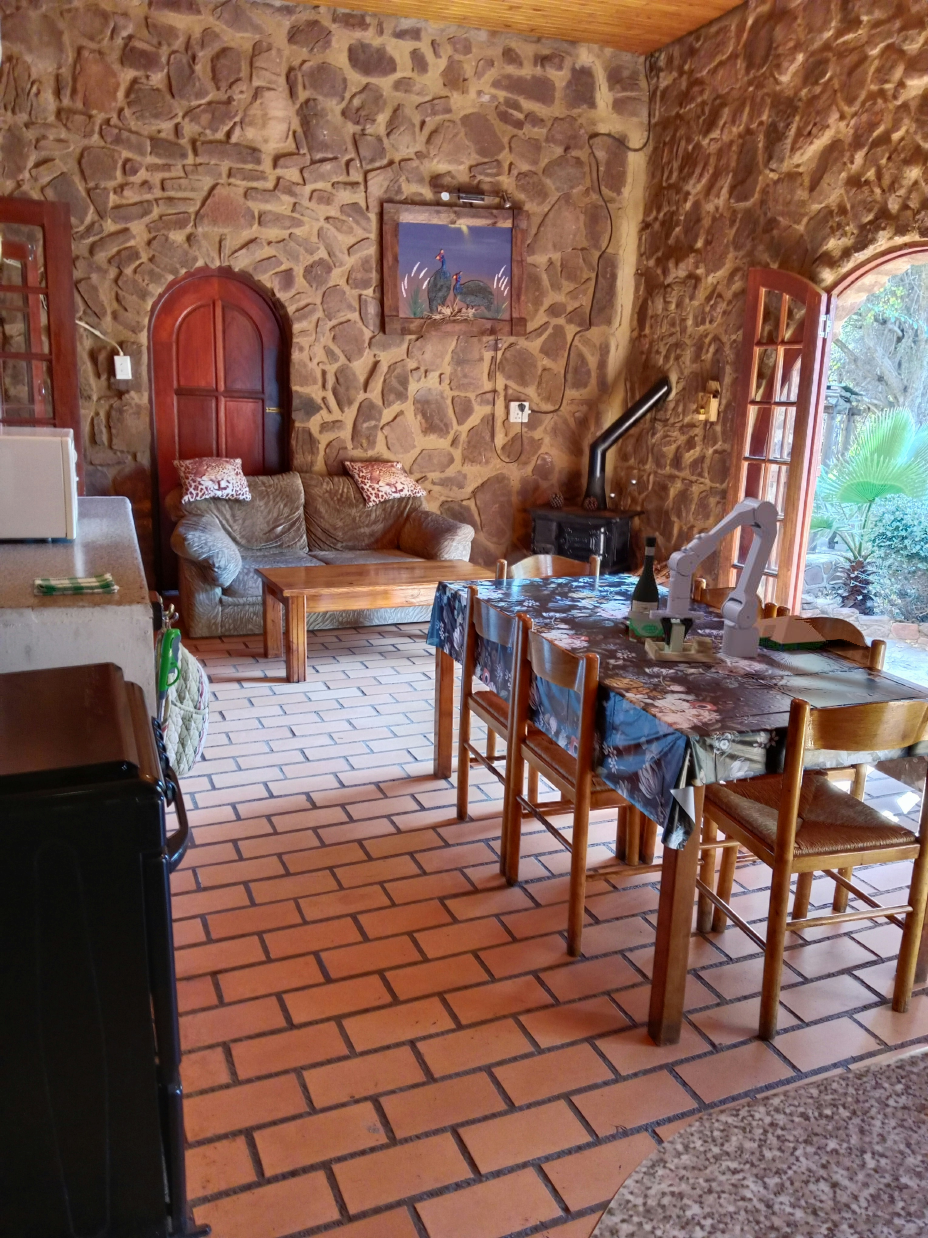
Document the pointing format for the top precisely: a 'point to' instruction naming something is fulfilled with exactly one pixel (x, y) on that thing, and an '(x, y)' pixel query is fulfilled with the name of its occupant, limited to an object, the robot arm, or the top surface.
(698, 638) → the offcut upper
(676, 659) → the rack
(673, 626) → the pale green block
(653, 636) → the food container
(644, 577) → the wine bottle
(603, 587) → the top surface
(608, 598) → the top surface
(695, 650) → the offcut lower
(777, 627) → the house
